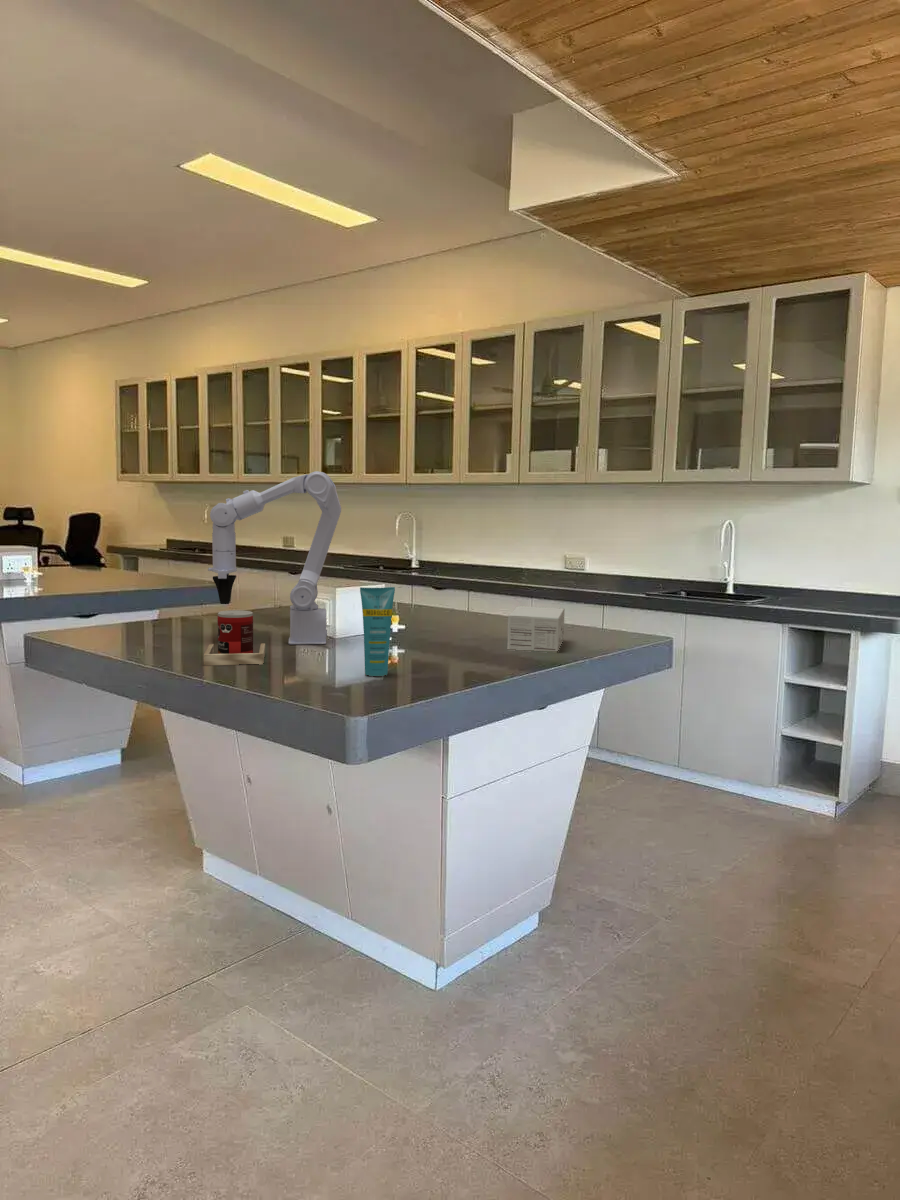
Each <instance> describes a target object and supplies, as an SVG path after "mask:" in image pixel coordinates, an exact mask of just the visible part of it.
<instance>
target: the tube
mask: <svg viewBox="0 0 900 1200" xmlns="http://www.w3.org/2000/svg"><path fill="white" fill-rule="evenodd" d="M395 591H396V587H395V586H388V587H387V586H384V587H359V593H360V598H361V599H360V600H361V609H362V611H361V612H362V625H363V647H364V648H363V650H364V655H363V656H364V674H366V675H365V676H367V675H369V676H368V677H373V676H382V677H385V676H384V675H386V676H388V672H389V671H388V669H389V658H390V657H389V655H390V641H391V629H392V618H393V617H392V616H393V606H394V598H395V593H396V592H395Z"/></svg>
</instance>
